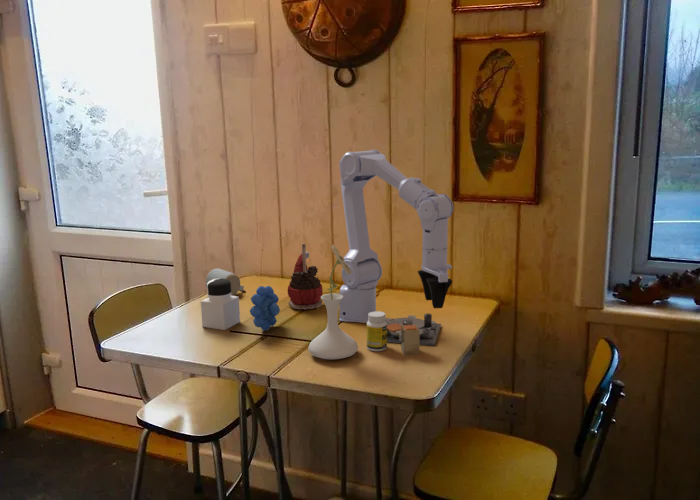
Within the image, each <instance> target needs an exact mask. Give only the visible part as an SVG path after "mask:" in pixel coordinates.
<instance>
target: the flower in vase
mask: <svg viewBox="0 0 700 500" xmlns="http://www.w3.org/2000/svg"><path fill="white" fill-rule="evenodd" d="M331 250H332V252H333V254H334V256H335V257H336V260H335V261H336V262H335V263H334V265H333V268H332V270H331V273H330V276H329V277H328V278H329V288H328V289H327V291H329V292H330V293H326V294H323V295H322V296H321V300H322V301H323V304H324V305H325V308H326V312H327V313H326V314H327V326H326V328H325V329H324V330H323V331H322V332H320V334H318V335H317V336H315V338H313V339H312V340H311V342H310V343H309V345H308V348H307V349H308V351H309V353H310V354H311V355H312V356H313V357H315V358H320V359H322V360H341V359H345V358H348V357H351V356H353V355H355V354H356V352H358V350H359V345H358V343H357V341H356V340H355V339H354V338H353V337H351V336H350V335H349V334H347V333H346V332H345V331H343V330H342V329H341V328H340V326H339V322H338V321H339V318H338V312H339V304H340V302H341V300H342V298H343V295H341V294H340V293H333V291H332V290H334V289H336V288H338V287H339V285H337V284H336V283H335V282H334V280H333V275H334V271H335V269H336V268H337V265H340V266H341V267H342V268H344V270H345V271H346V272H347V273H348V274H349V275H350V274H351V273H352V272H351V271H350V270H349V269H350V268H349V266H348V265H347V264H346V263H345V262H344V256H343V255H340V252H339V248H338V247H336V244H332V245H331Z"/></svg>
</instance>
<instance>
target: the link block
mask: <svg viewBox="0 0 700 500" xmlns="http://www.w3.org/2000/svg"><path fill="white" fill-rule="evenodd" d="M419 340H420V330H419V328H418V327H417V325H401V343H400V344H401V346H400V347H401V348H400V351H401V352H402V354H403V357H404V356H405V357H407V356H408V357H409V356H419V355H420V345H419Z"/></svg>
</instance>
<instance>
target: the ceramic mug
mask: <svg viewBox="0 0 700 500" xmlns="http://www.w3.org/2000/svg"><path fill="white" fill-rule="evenodd" d="M213 279H227V280H229V281H230V282H231V296H236V294H237V293H238V292H239V291H240V292H243V291H244V288H245V286H244V285H242V284H241V280H240V277H239V276H238V275H237V274H235V273H233V272H230V271H228V270H224V269H222V268H219V267H217V268H214V269H212V270H210V271H209V272H208V274H207V276H206V279H205V287H206V288H207V283H208V282H209V281H211V280H213Z"/></svg>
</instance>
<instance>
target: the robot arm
mask: <svg viewBox="0 0 700 500" xmlns="http://www.w3.org/2000/svg"><path fill="white" fill-rule="evenodd" d="M386 157H387V156H386V155H385V154H383V153H381V152H380V151H379V150H378V149H370V150H363V151H347V152H345V153H344V154H343V155H342V157H341V159H340V161H338V164H339V165H338V166H339V173H340V189H341V197H342V204H343V212H344V219H345V228H346V229H345V230H346V235H347V241H348V252H347V253H346V255H344V256H343V258H344V262H345V263H346V264H347V265H348V266H349V268H350V269H349V270H350V271H351V272H352V273H351V274H350V275H349V274H348V273H347V272H346V271H345V270H344V268H343V267H342V268H341V279H342V281H343V283H344V284H342V285H341V286H340V289H339V294H341V295H343V298H342V300H341V302H340V304H339V307H338V311H339V318H338V321H339V322H348V323H361V324H362V323H364V324H365V323H366V324H367V322H368V321H369V320H368V314H369V313H370V312H375V311H377V286H378V284H379V282H378V281H379V280H380V279H381V278H382V274H383V268H382V265H381V262H380V260H379V255H378V253H377V252H376V251H374V250H373V249H372V248H371V245H370V237H369V229H368V222H367V221H368V220H367V215H366V214H367V213H366V207H365V206H366V205H365V197H364V187H365V186H366V185H367V184H368V182H369V181H370V180H372V179H373V178H375V177H378V178H380V179H381V180H383V181H384V182H385V183H387V184H389V185H391V186H392V187H393V188H395V189H396V190H398V195H399V198H400V199H402V200H404V202H406V203H407V204H409V205H410V206H411V207H412V208H413V209H414V210H415V211H416V213H417V216H418V217H419V220H420V227H421V229H422V253H421V254H422V255H421V256H422V259H421V262H422V263H421V270H420V269H419V270H418V271H417V274H418V276H419V278H420V280H421V283H422V288H423V292H424V297H425V300H426V301H431V305H432V307H433V309H443V307H444V304H445V300H446V298H447V297H446V296H447V294H448V290H449V289H450V287H451V286H452V284H453V280H452V279H451V278H449V273H448V270H451V269H453V266H452V265H451V264H450V263H448V236H449V235H448V233H449V229H448V227H449V226H448V223H449V218H450V217H451V216H452V215H453V212H454V203H453V200H451V198H450V197H449V196H448V194H446V193H445V194H444V193H440V194H439V193H437V192H436V191H435V190H434V189H431V188H429V187H428V186H426V185H425V184H424V183H422V179H421V178H419V177H409V178H408V177H407V176H406V175H405V174H403V173H402V172H401V171H400V170H398V169H397V168H396V167H395V166H394V165H393V164H392V163H390V162H389V160H387V158H386Z"/></svg>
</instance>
